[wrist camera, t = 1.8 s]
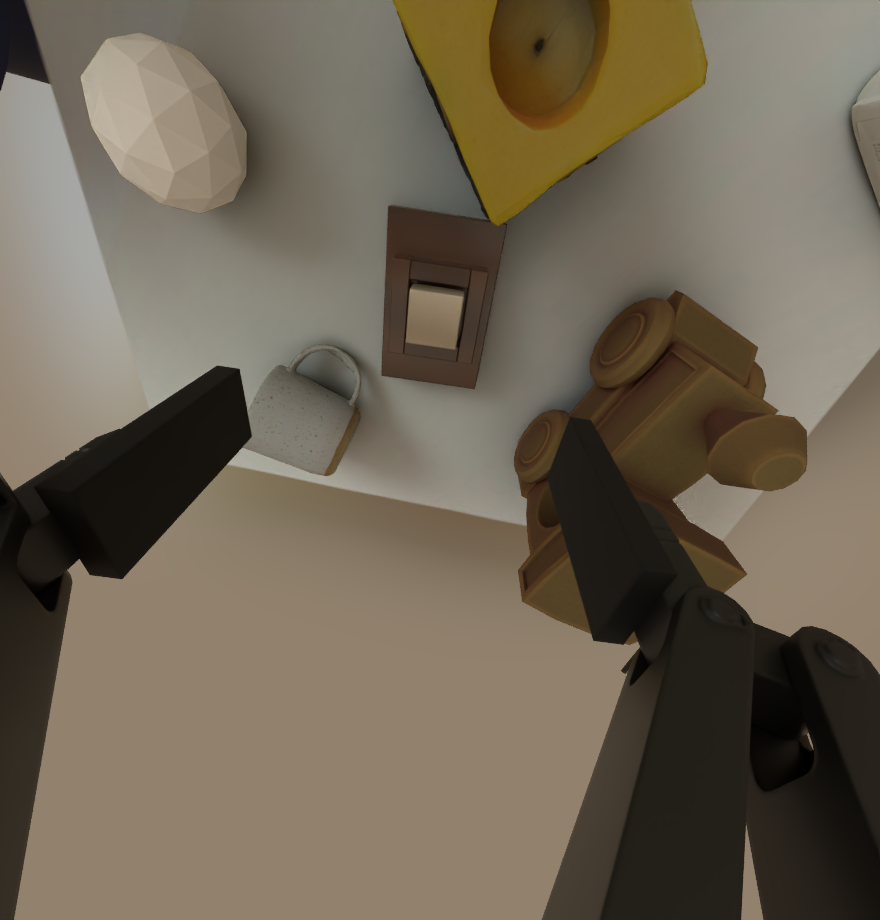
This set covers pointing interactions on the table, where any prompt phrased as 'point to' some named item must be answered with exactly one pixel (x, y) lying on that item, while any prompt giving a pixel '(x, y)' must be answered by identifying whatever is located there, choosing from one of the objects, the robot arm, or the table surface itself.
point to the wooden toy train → (660, 438)
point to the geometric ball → (165, 122)
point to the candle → (548, 82)
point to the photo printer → (869, 129)
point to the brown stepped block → (441, 265)
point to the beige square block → (434, 316)
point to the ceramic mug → (303, 417)
